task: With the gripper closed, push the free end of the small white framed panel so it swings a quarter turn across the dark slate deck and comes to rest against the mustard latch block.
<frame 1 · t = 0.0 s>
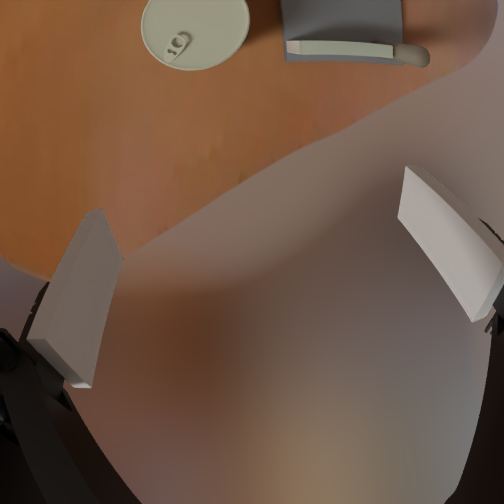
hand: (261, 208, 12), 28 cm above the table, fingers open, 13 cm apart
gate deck: (342, 1, 27), on the table
can: (201, 28, 28), on the table
white framed panel: (338, 47, 27), point 5 cm above the table, hinge at 90.0°
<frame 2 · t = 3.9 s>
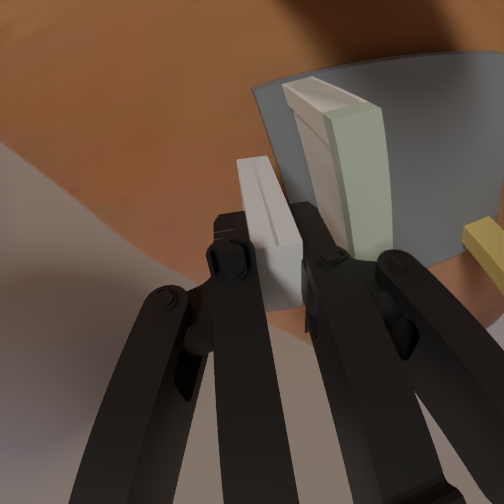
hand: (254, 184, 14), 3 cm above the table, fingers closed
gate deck: (412, 175, 18), on the table
white framed panel: (343, 203, 13), point 5 cm above the table, hinge at 89.7°, touching gripper
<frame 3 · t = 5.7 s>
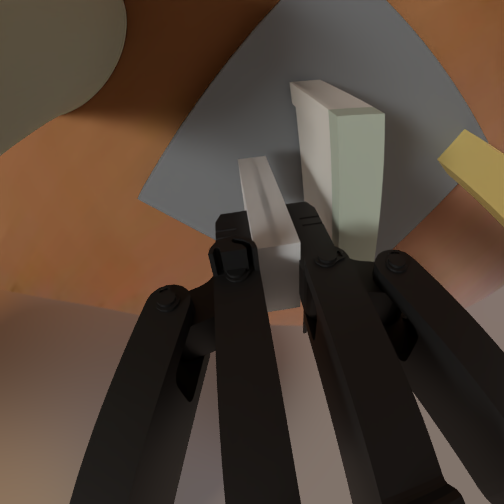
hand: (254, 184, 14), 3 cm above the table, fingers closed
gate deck: (336, 150, 17), on the table
can: (53, 41, 11), on the table
white framed panel: (331, 204, 13), point 5 cm above the table, hinge at 45.7°, touching gripper
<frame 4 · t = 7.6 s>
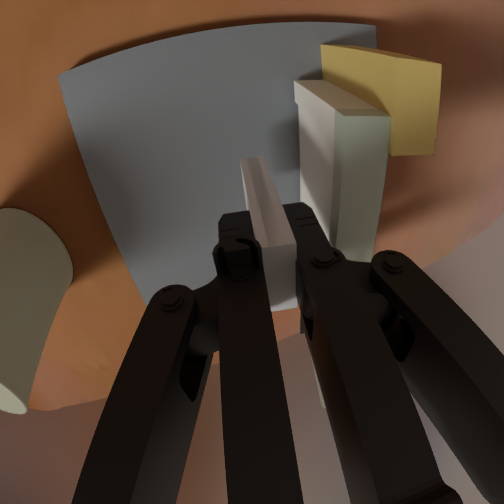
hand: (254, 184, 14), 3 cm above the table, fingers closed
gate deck: (234, 176, 17), on the table
can: (26, 254, 20), on the table
white framed panel: (329, 205, 13), point 5 cm above the table, hinge at -1.2°, touching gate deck, gripper
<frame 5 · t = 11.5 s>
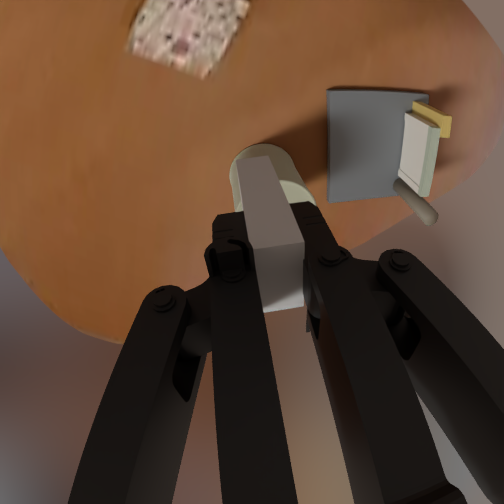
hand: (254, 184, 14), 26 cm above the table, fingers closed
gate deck: (377, 144, 41), on the table
can: (262, 173, 43), on the table
white framed panel: (417, 153, 37), point 5 cm above the table, hinge at -1.2°, touching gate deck
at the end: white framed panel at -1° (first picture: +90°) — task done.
